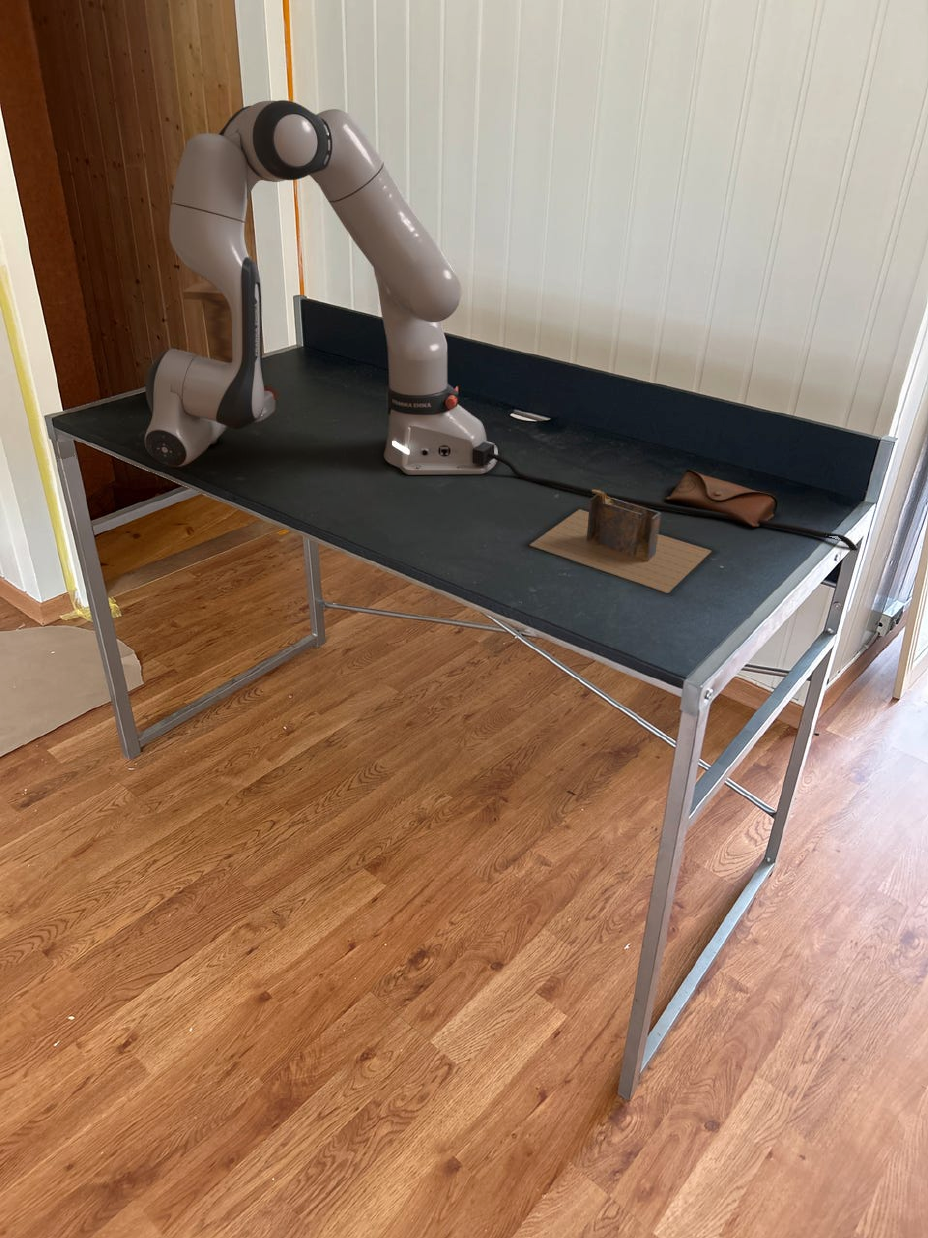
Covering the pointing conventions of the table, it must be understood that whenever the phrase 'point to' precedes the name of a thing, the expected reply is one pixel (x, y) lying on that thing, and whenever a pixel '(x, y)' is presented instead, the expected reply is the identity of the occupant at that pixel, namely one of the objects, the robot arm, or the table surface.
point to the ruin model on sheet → (623, 543)
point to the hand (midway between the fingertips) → (233, 388)
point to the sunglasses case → (724, 498)
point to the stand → (214, 319)
